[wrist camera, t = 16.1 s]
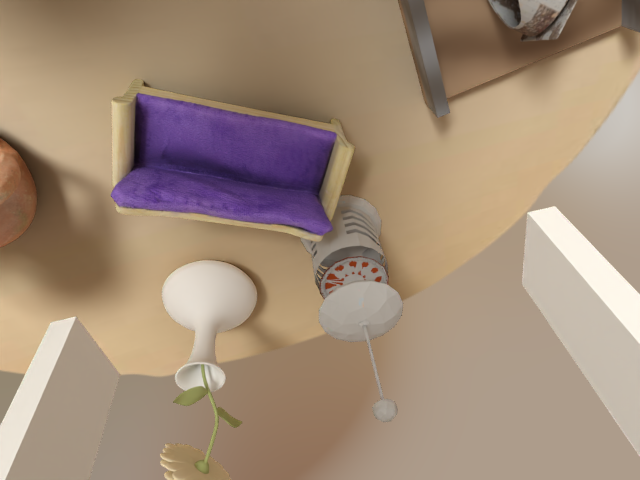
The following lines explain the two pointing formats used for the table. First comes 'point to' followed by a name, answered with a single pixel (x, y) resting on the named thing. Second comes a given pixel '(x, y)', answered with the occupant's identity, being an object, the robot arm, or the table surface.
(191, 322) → the flower in vase
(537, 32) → the caster wheel
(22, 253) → the table surface
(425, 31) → the square tray
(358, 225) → the french press
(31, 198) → the ceramic jug
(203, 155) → the toy sofa
